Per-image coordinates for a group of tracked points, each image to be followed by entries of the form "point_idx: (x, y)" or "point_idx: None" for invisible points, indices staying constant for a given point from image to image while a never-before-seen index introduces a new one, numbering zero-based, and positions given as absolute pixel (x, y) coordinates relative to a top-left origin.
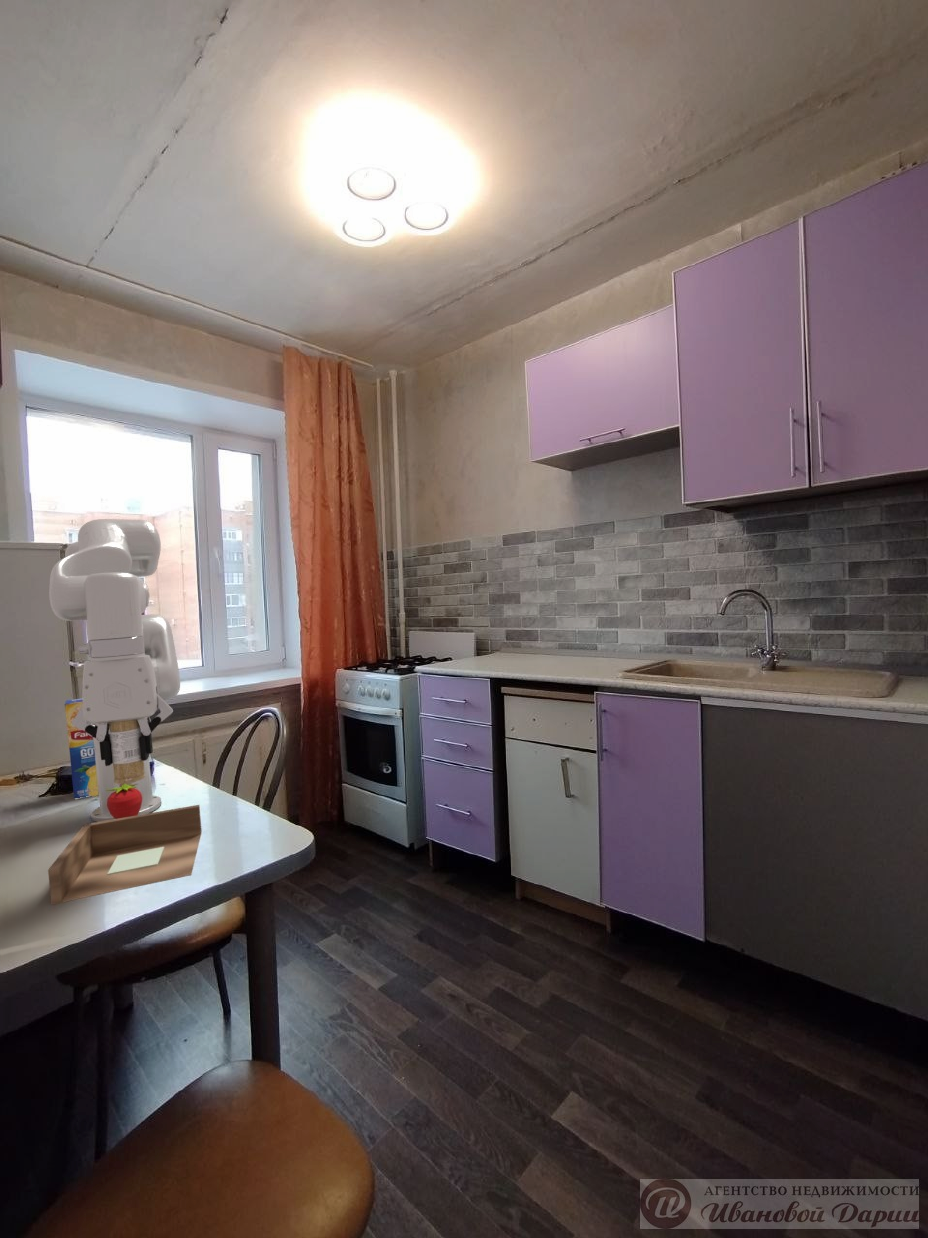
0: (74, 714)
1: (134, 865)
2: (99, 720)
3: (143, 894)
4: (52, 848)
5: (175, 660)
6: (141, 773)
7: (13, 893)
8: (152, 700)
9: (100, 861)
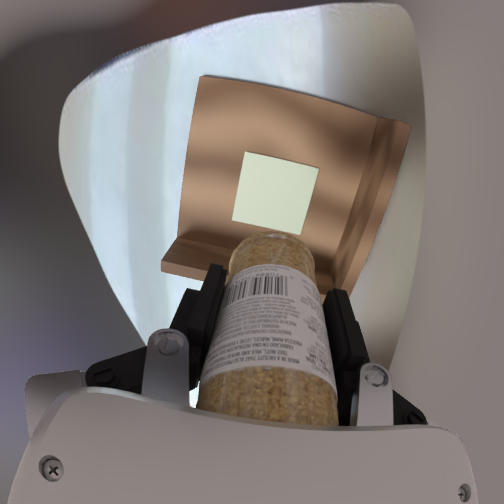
0: None
1: (279, 171)
2: (414, 435)
3: (271, 69)
4: (362, 332)
5: None
6: (237, 254)
7: (419, 217)
8: (24, 464)
9: (323, 234)
